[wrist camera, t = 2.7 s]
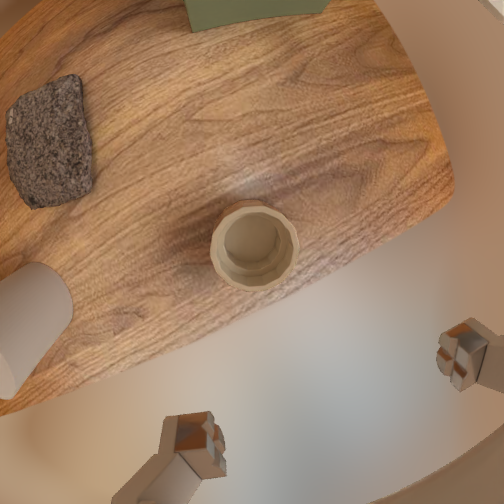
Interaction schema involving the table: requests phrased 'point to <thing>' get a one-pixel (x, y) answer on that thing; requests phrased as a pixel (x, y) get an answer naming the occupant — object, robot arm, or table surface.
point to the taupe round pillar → (29, 321)
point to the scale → (245, 10)
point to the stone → (49, 144)
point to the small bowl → (253, 246)
